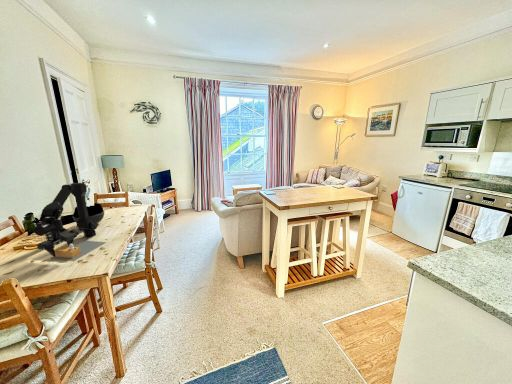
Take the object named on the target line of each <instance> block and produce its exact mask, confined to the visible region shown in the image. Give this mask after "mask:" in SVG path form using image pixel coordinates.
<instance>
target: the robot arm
mask: <svg viewBox="0 0 512 384" xmlns="http://www.w3.org/2000/svg"><path fill="white" fill-rule="evenodd" d="M87 188H88V187H87V185H86V183H84V182H72V183H70V184H63V185H62V186H61V189H60V190H59V192H58V193H57V194H56V196H55V197H54V199H53V200H52V201H51V202H50V203H48V204H47V205H45V206H44V207H43V209H42V210H41V214H40V217H39V220H38V221H39V222H37V223H35V225H36V226H34V228H33V233H34V234H35V235H36V236H39V237H42V236H44V235H45V234H47V233H51V237H50V239H52V240H51V241H47V240H44V241H41V242H40V243H38V244H37V245H36V247H37V249H39V250H45V251H46V252H47V253H49V254H50V256H52V257H55V251H54V250H55V247H56V245H54V243H55V242H58V241H60V240H63V241H64V242H65V243H67V246H68V247H69V244H73V243H74V240H75V239H76V238H77V237H78V236H79V235H80V232H83V236H84V237H85V238H92V237H95V236H97V233H96V229H98V223H97V224H95V223H93V220H92V218H91V217H89V215H88V211H87V201H86V194H87ZM70 195H73V197H74V198H75V199H74V200H75V203H76V204H75V205H76V207H77V209H78V214H79V219H78V221H76V222H75V223H76V227H77V229H78V230H79V231H80V232H79V231H78V230H77V229H71V230H67V229H66V227H64V224H63V222H62V221H63V220H62V219H63V218H64V216H63V215H62V214H63V211H64V207H63V206H64V205H65V203H66V202H67V200H68V198H69V196H70ZM46 217H53V218H46ZM64 242H63V243H64ZM53 245H54V246H53ZM73 245H74V244H73Z"/></svg>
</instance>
